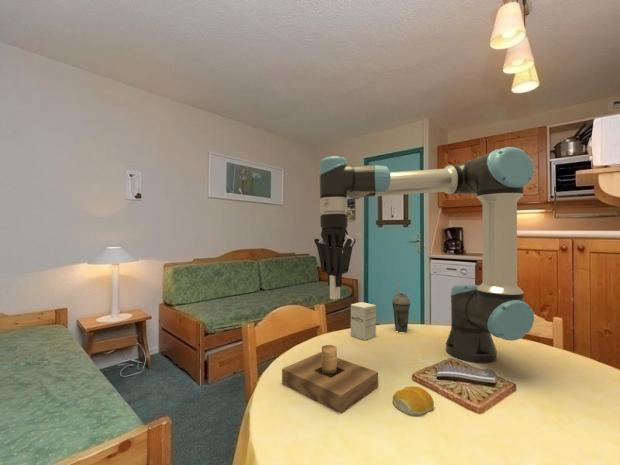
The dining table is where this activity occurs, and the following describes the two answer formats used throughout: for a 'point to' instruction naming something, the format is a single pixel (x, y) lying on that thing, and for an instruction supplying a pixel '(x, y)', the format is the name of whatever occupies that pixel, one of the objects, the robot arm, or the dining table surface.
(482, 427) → the dining table surface
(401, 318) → the beverage cup
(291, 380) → the board
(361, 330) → the supplement box
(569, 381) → the dining table surface
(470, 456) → the dining table surface
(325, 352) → the dowel
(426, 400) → the bread roll
